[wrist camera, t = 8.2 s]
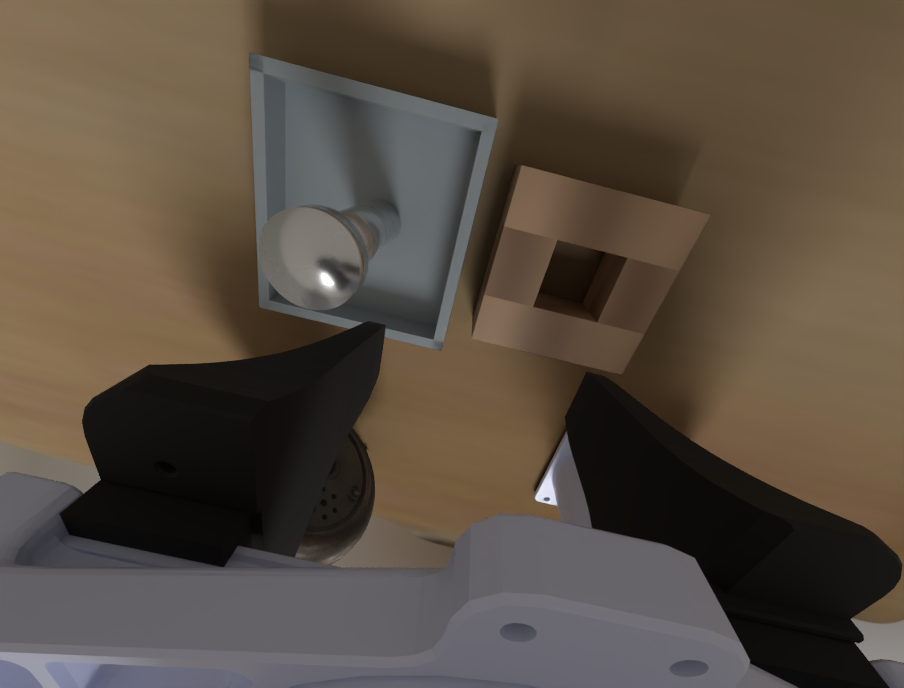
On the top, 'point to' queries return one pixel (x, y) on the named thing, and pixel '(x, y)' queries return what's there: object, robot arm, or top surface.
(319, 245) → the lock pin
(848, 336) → the top surface
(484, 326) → the block
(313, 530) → the alarm clock
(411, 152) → the tray
